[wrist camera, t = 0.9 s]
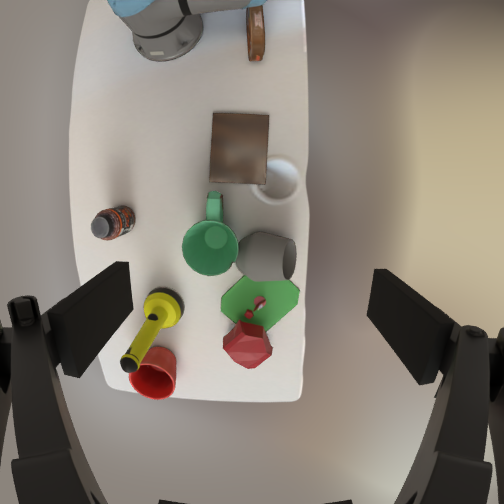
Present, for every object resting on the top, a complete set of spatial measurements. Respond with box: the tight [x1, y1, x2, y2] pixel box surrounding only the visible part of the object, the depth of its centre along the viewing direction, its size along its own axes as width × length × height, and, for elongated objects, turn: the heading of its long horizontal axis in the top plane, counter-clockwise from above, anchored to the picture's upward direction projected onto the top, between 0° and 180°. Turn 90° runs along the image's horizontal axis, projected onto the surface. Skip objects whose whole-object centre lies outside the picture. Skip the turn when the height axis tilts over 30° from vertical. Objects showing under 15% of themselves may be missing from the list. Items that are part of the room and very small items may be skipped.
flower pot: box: [129, 347, 176, 400], centre depth 63 cm, size 11×11×10 cm
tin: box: [246, 5, 265, 61], centre depth 46 cm, size 15×3×8 cm, turn 3°
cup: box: [235, 232, 297, 282], centre depth 57 cm, size 10×9×10 cm
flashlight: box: [120, 287, 184, 373], centre depth 52 cm, size 25×9×9 cm
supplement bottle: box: [91, 206, 135, 240], centre depth 54 cm, size 6×6×11 cm
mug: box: [182, 191, 239, 276], centre depth 55 cm, size 15×10×10 cm
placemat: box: [209, 113, 269, 185], centre depth 56 cm, size 14×11×1 cm
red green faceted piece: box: [221, 275, 300, 369], centre depth 60 cm, size 15×20×9 cm
